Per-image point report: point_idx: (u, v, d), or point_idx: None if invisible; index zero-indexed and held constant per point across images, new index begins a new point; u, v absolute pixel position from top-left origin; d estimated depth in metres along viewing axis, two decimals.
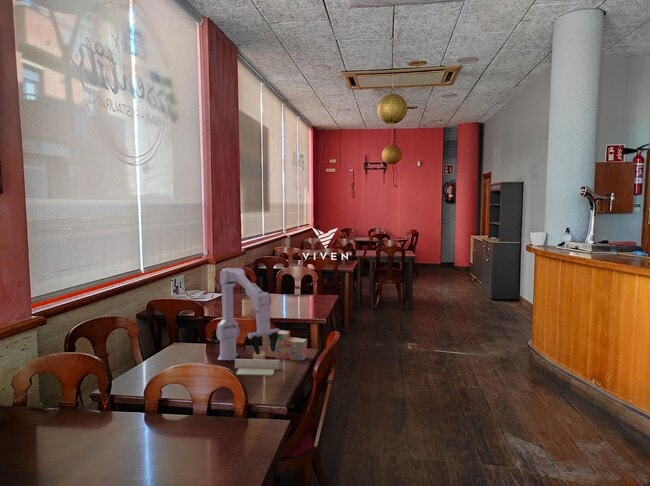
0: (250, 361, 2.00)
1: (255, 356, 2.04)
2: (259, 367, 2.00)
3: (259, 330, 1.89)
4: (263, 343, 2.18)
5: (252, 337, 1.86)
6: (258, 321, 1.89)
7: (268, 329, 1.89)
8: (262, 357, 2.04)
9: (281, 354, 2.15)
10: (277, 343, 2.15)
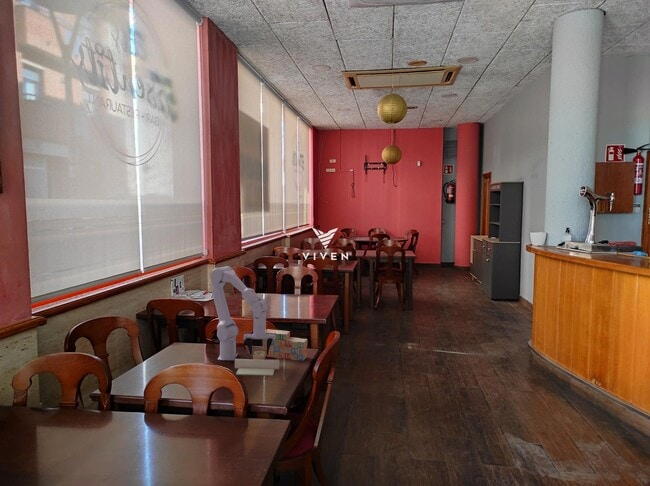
0: (250, 361, 2.00)
1: (255, 356, 2.04)
2: (259, 367, 2.00)
3: (253, 333, 2.05)
4: (263, 343, 2.17)
5: (246, 338, 2.05)
6: None
7: (260, 334, 2.03)
8: (262, 357, 2.04)
9: (282, 354, 2.15)
10: (277, 343, 2.15)
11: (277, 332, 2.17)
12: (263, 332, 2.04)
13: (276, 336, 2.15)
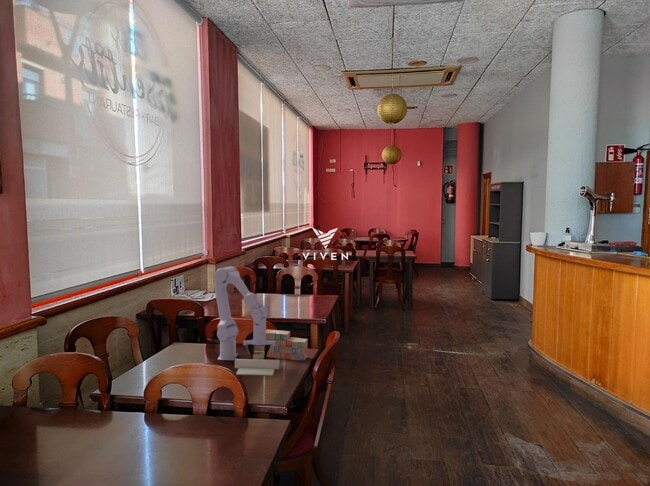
0: (250, 361, 2.00)
1: (255, 356, 2.04)
2: (259, 367, 2.00)
3: (253, 340, 2.05)
4: None
5: (245, 345, 2.05)
6: (253, 331, 2.05)
7: (260, 341, 2.03)
8: (262, 357, 2.04)
9: (282, 354, 2.15)
10: (278, 343, 2.15)
11: (277, 332, 2.17)
12: (263, 338, 2.04)
13: (276, 336, 2.15)
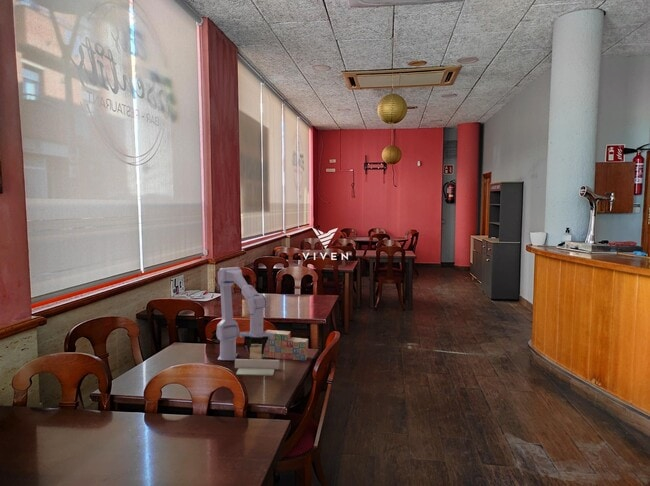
0: (250, 361, 2.00)
1: (252, 349, 1.93)
2: (259, 367, 2.00)
3: (250, 331, 1.93)
4: None
5: None
6: (250, 323, 1.93)
7: (257, 332, 1.92)
8: (260, 350, 1.93)
9: (283, 354, 2.15)
10: (279, 344, 2.14)
11: (278, 332, 2.16)
12: (260, 330, 1.92)
13: (277, 336, 2.15)
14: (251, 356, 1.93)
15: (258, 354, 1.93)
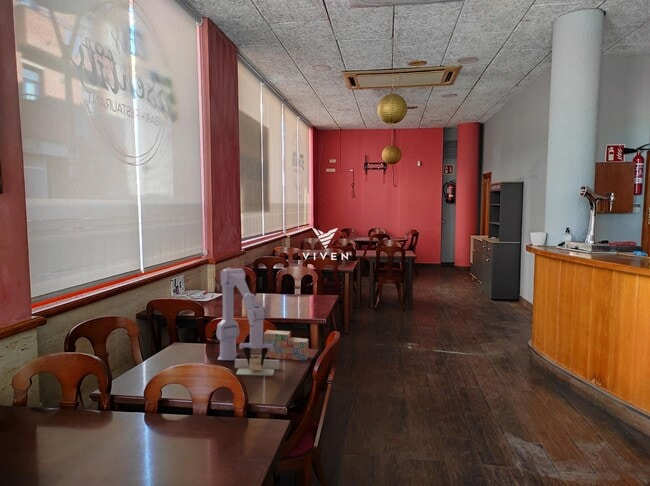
0: None
1: (252, 360, 1.93)
2: None
3: (249, 343, 1.93)
4: None
5: (241, 348, 1.94)
6: (250, 334, 1.93)
7: (257, 344, 1.92)
8: (259, 361, 1.93)
9: (283, 354, 2.14)
10: (279, 344, 2.14)
11: (278, 333, 2.16)
12: (260, 341, 1.93)
13: (278, 337, 2.14)
14: (251, 367, 1.93)
15: (257, 365, 1.93)
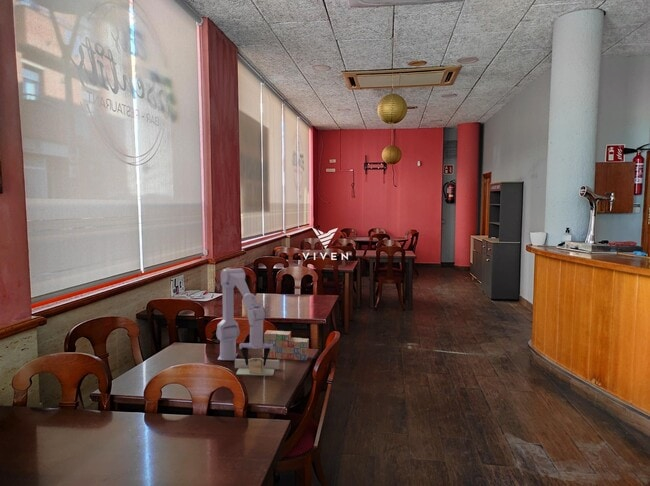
0: None
1: (252, 363, 1.93)
2: None
3: (249, 343, 1.93)
4: None
5: (241, 348, 1.94)
6: (250, 334, 1.93)
7: (257, 344, 1.92)
8: (259, 364, 1.93)
9: (284, 354, 2.14)
10: (280, 344, 2.14)
11: (279, 333, 2.16)
12: (260, 341, 1.93)
13: (278, 337, 2.14)
14: (251, 370, 1.93)
15: (257, 368, 1.93)
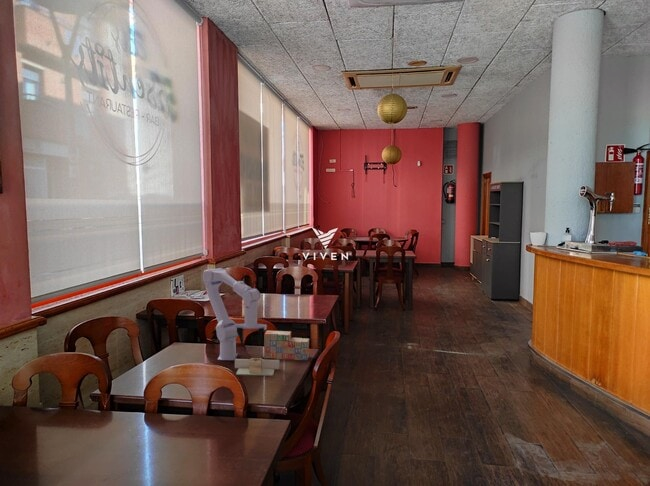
0: None
1: (252, 363, 1.93)
2: None
3: (244, 323, 2.03)
4: (265, 345, 2.15)
5: (237, 328, 2.04)
6: None
7: (251, 324, 2.02)
8: (259, 364, 1.93)
9: (284, 355, 2.14)
10: (280, 344, 2.14)
11: (279, 333, 2.15)
12: (254, 322, 2.03)
13: (279, 337, 2.14)
14: (251, 370, 1.93)
15: (257, 368, 1.93)
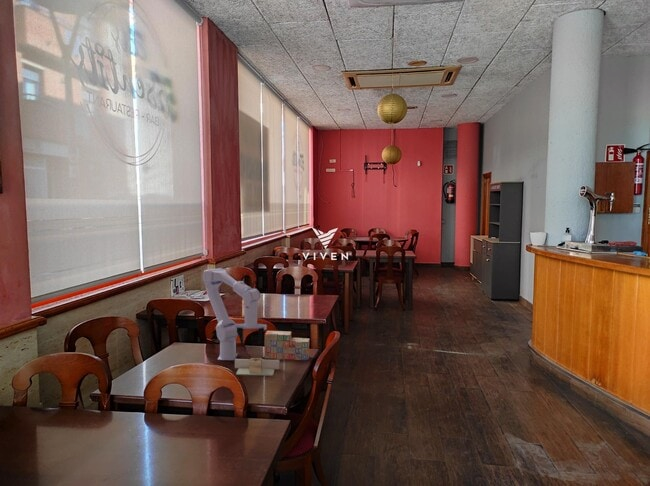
0: None
1: (252, 363, 1.93)
2: None
3: (244, 323, 2.03)
4: (265, 345, 2.14)
5: (237, 328, 2.04)
6: None
7: (251, 324, 2.02)
8: (259, 364, 1.93)
9: (285, 355, 2.14)
10: (281, 344, 2.14)
11: (279, 333, 2.15)
12: (254, 322, 2.03)
13: (279, 337, 2.14)
14: (251, 370, 1.93)
15: (257, 368, 1.93)
